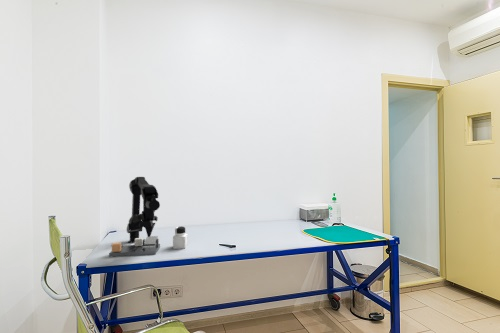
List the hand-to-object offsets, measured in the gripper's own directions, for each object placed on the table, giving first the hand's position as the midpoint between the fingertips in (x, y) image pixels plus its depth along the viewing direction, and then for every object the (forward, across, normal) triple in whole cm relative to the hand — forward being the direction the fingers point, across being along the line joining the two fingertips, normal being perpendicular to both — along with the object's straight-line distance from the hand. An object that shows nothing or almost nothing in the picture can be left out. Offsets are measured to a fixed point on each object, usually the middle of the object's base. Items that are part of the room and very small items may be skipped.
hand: (149, 236), depth 151 cm
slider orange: (+7, 0, -17) cm, 18 cm away
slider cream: (+7, -9, -8) cm, 14 cm away
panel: (+9, -5, -8) cm, 13 cm away
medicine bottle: (+10, -10, +16) cm, 21 cm away
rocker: (+4, -5, 0) cm, 6 cm away
